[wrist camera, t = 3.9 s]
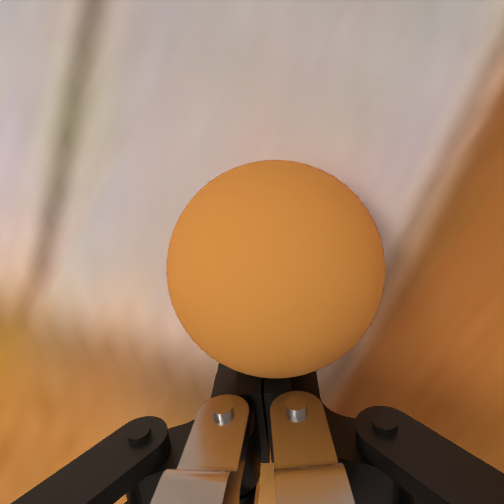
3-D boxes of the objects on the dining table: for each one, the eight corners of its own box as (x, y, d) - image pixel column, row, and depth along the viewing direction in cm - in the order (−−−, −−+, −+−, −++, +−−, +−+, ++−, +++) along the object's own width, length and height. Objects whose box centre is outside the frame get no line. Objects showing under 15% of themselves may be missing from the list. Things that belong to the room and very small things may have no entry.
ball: (179, 163, 12) (104, 190, 7) (357, 143, 12) (419, 155, 6) (206, 320, 14) (161, 436, 9) (363, 308, 13) (416, 425, 8)
